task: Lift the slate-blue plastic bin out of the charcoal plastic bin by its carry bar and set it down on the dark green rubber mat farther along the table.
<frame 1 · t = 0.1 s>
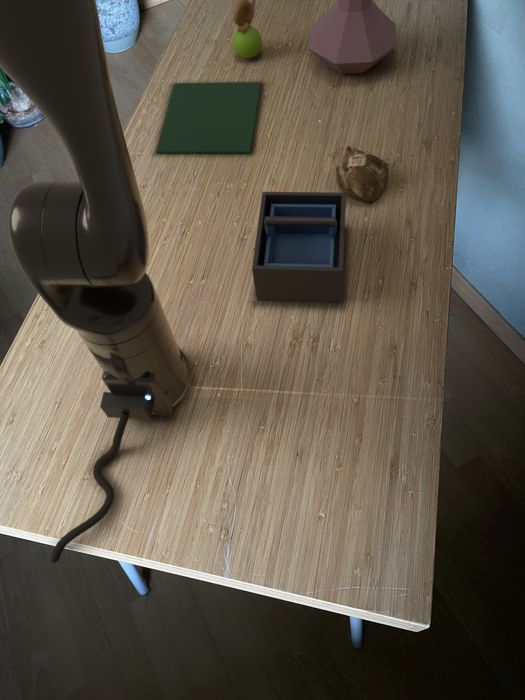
charcoal bin: (302, 265, 85), on the table
blue bin: (302, 262, 84), point 1 cm above the table, touching charcoal bin
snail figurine: (250, 55, 112), on the table
green mat: (210, 117, 103), on the table
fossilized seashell: (359, 186, 92), on the table
flask: (351, 59, 108), on the table
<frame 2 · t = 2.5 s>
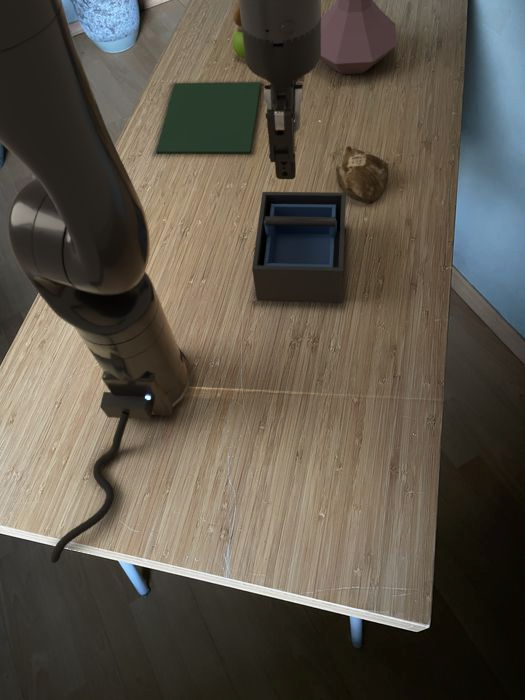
hand: (288, 151, 69), 19 cm above the table, tool pointing down, fingers open, 8 cm apart
nothing on the table moved.
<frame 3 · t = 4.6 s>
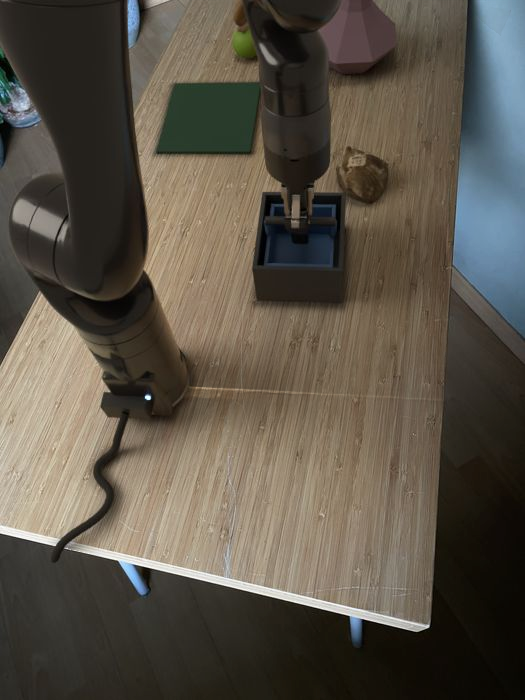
hand: (300, 236, 80), 6 cm above the table, tool pointing down, fingers closed on blue bin
blue bin: (302, 262, 84), point 1 cm above the table, touching charcoal bin, gripper
everything else where it was.
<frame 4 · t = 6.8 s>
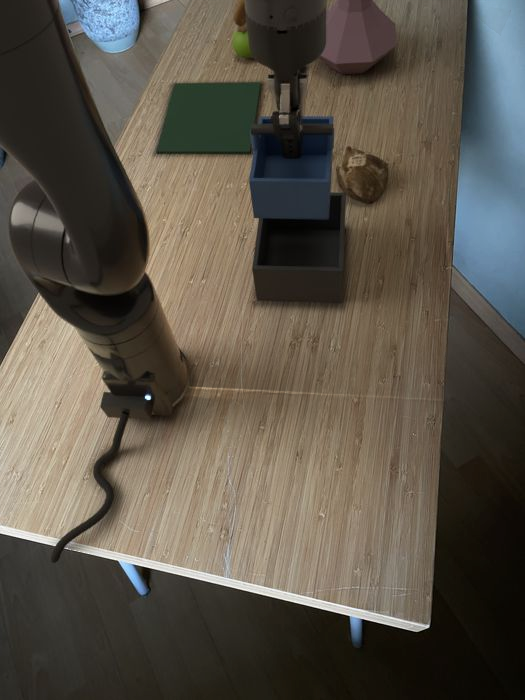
hand: (292, 150, 69), 20 cm above the table, tool pointing down, fingers closed on blue bin
blue bin: (294, 186, 74), point 14 cm above the table, touching gripper
everything else where it was.
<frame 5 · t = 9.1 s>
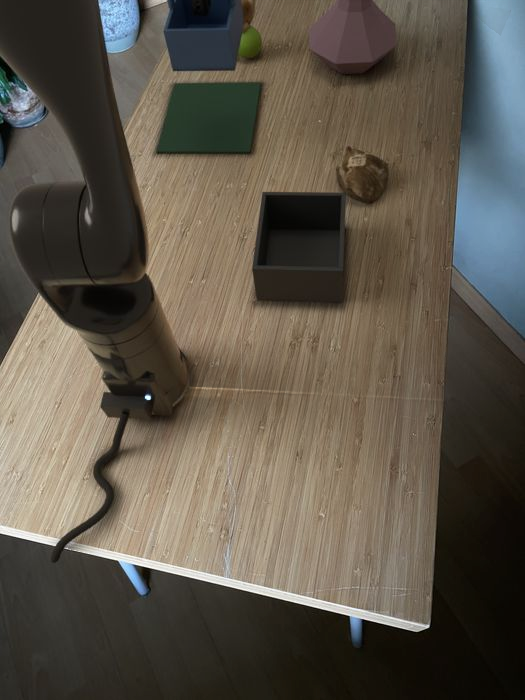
hand: (202, 10, 82), 22 cm above the table, tool pointing down, fingers closed on blue bin
blue bin: (209, 47, 86), point 16 cm above the table, touching gripper
everything else where it was.
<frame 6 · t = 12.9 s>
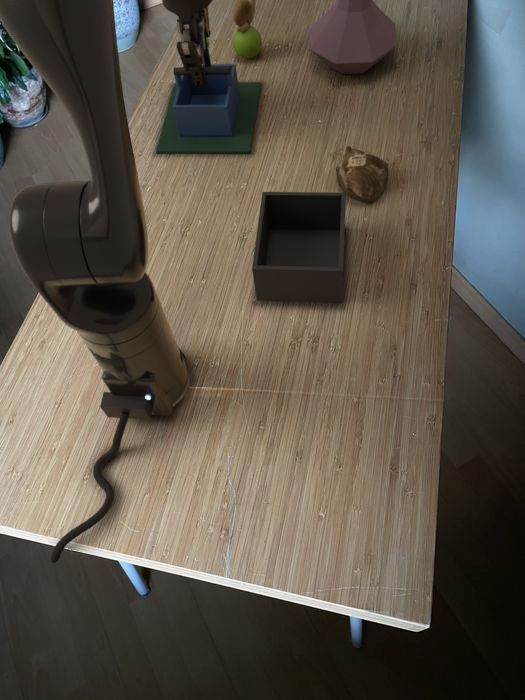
hand: (203, 78, 96), 8 cm above the table, tool pointing down, fingers open, 3 cm apart
blue bin: (210, 115, 103), resting on green mat
everything else where it was.
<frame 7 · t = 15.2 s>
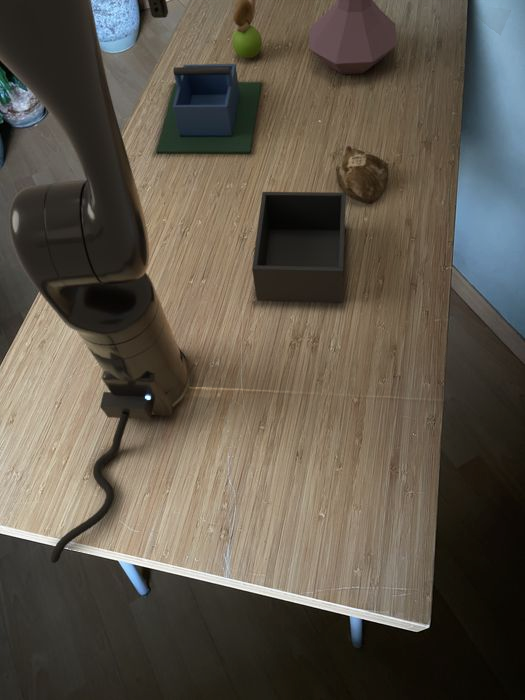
nothing on the table moved.
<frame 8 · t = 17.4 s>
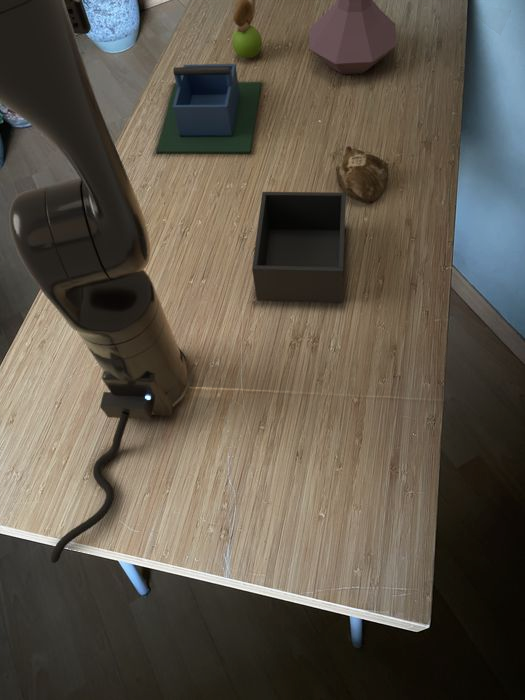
hand: (91, 11, 72), 28 cm above the table, tool pointing down, fingers open, 8 cm apart
nothing on the table moved.
at the end: blue bin inside the target area on the green mat (0.1 cm from its centre), point 0.5 cm above the green mat's base; blue bin tilted 0°; the gripper is holding nothing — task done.
